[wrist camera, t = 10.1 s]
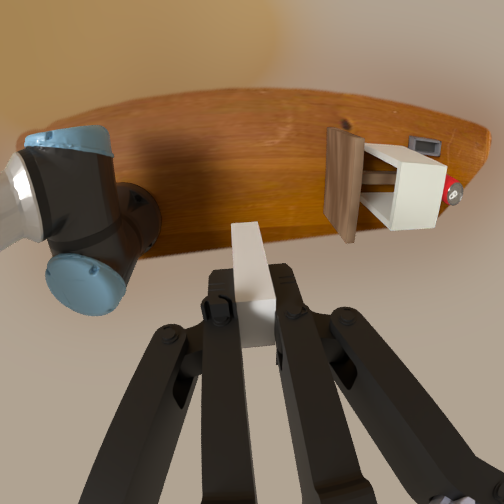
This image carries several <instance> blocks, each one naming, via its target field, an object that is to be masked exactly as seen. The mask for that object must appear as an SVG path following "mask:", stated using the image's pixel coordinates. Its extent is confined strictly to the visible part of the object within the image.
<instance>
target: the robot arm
mask: <svg viewBox="0 0 504 504" xmlns="http://www.w3.org/2000/svg"><path fill="white" fill-rule="evenodd" d="M24 146H25V147H26V148H25V149H23V150H20V151H18V152H15V153H13V155H12V156H11V158H10V160H9V162H8V164H7V166H6V168H5V169H4V170H3V171H2V172H0V252H1V251H2V250H4V249H6V248H7V247H9V246H11V245H12V244H14V243H16V242H17V241H19V240H21V239H23V238H27V239H29V240H32V241H34V242H37V243H40V242H42V241H44V240H46V239H47V241H48V244H49V247H50V250H51V253H52V258H51V259H50V260H49V262H48V264H47V269H46V273H45V277H46V282H47V285H48V287H49V289H50V291H51V292H52V294H53V295H54V296H55V297H56V299H57V300H59V301H60V302H61V303H62V304H63V305H65V306H66V307H68V308H70V309H72V310H73V311H75V312H77V313H80V314H83V315H88V316H102V315H106V314H108V313H110V312H112V311H113V310H114V309H115V308H116V307H117V306H118V304H119V302H120V300H121V299H122V297H123V296H124V295H125V292H126V287H127V284H128V282H129V279H130V277H131V274H132V272H133V270H134V267H135V265H136V262H137V260H138V258H139V257H140V256H141V255H143V254H144V253H145V252H147V251H148V250H149V249H150V248H151V247H152V246H153V245H154V243H155V242H156V240H157V237H158V235H159V233H160V229H161V214H160V210H159V207H158V205H157V203H156V202H155V200H154V199H153V197H152V196H151V195H150V194H149V193H148V192H147V191H145V190H144V189H143V188H141V187H139V186H137V185H134V184H131V183H125V182H121V183H116V180H115V173H114V165H113V158H114V154H113V153H112V150H111V143H110V136H109V133H108V131H107V129H106V128H104V127H103V126H100V125H90V126H80V127H72V128H65V129H59V130H53V131H47V132H41V133H36V134H32V135H29V136H27V137H26V139H25V143H24ZM231 234H232V253H233V268H232V269H220V270H213V271H212V273H211V274H210V276H209V285H208V296H207V297H205V298H204V299H203V301H202V303H201V310H202V314H203V319H204V320H203V321H202V322H201V323H199V324H198V325H196V326H193V327H190V328H187V329H183V327H181V326H180V325H177V324H168V325H164V326H162V327H160V328H159V329H157V331H156V332H155V333H154V335H153V337H152V339H151V341H150V343H149V345H148V347H147V349H146V351H145V353H144V355H143V357H142V359H141V361H140V363H139V365H138V367H137V369H136V371H135V373H134V375H133V377H132V379H131V381H130V383H129V386H128V387H127V390H126V392H125V394H124V396H123V398H122V400H121V403H120V405H119V407H118V409H117V411H116V413H115V416H114V418H113V420H112V422H111V424H110V427H109V429H108V431H107V434H106V436H105V438H104V441H103V443H102V445H101V447H100V450H99V452H98V455H97V457H96V460H95V462H94V464H93V467H92V469H91V472H90V474H89V477H88V479H87V482H86V484H85V487H84V489H83V492H82V495H81V497H80V500H79V503H78V504H158V502H159V499H160V495H161V492H162V489H163V486H164V482H165V479H166V476H167V473H168V470H169V467H170V463H171V460H172V457H173V454H174V451H175V447H176V444H177V441H178V438H179V435H180V432H181V429H182V425H183V423H184V419H185V416H186V413H187V410H188V407H189V404H190V401H191V398H192V395H193V391H194V389H195V385H196V383H197V380H198V375H201V374H202V399H201V405H202V406H201V444H202V445H201V448H202V449H201V450H202V451H201V452H202V491H203V497H202V502H201V504H258V503H257V495H256V487H255V478H254V469H253V460H252V451H251V441H250V432H249V422H248V412H247V402H246V392H245V380H244V370H243V358H242V349H241V348H249V347H260V346H270V345H275V341H276V347H277V352H276V353H277V354H276V365H278V366H279V372H280V377H281V382H282V388H283V393H284V399H285V404H286V410H287V415H288V421H289V426H290V432H291V437H292V443H293V448H294V454H295V459H296V465H297V470H298V476H299V482H300V487H301V493H302V504H377V501H376V497H375V494H374V491H373V488H372V485H371V484H370V482H369V481H368V480H367V479H365V478H364V477H363V475H362V473H361V470H360V466H359V463H358V459H357V455H356V452H355V448H354V445H353V441H352V438H351V434H350V431H349V428H348V424H347V421H346V418H345V414H344V411H343V408H342V405H341V401H340V398H339V395H338V392H337V388H336V385H335V382H336V384H337V385H338V387H339V388H340V390H341V391H342V393H343V394H344V396H345V397H346V399H347V401H348V402H349V404H350V405H351V407H352V408H353V410H354V411H355V413H356V414H357V416H358V418H359V419H360V421H361V422H362V424H363V425H364V427H365V428H366V430H367V431H368V433H369V435H370V436H371V438H372V439H373V441H374V442H375V444H376V445H377V447H378V448H379V450H380V451H381V453H382V455H383V456H384V458H385V459H386V461H387V462H388V464H389V465H390V467H391V468H392V470H393V471H394V473H395V475H396V476H397V477H398V479H399V481H400V482H401V484H402V485H403V487H404V488H405V490H406V491H407V493H408V494H409V495H410V496H411V498H412V499H414V501H415V502H416V503H417V504H504V473H503V472H502V471H500V470H498V469H496V468H495V467H493V466H491V465H489V464H488V463H486V462H484V461H483V460H481V459H479V458H478V457H476V456H475V454H474V453H473V452H472V450H471V449H470V448H469V446H468V445H467V444H466V442H465V441H464V439H463V438H462V437H461V435H460V434H459V433H458V431H457V430H456V429H455V427H454V426H453V425H452V423H451V422H450V421H449V420H448V418H447V417H446V416H445V414H444V413H443V412H442V411H441V409H440V408H439V407H438V405H437V404H436V403H435V402H434V400H433V399H432V398H431V397H430V395H429V394H428V393H427V392H426V390H425V389H424V388H423V387H422V385H421V384H420V383H419V382H418V380H417V379H416V378H415V377H414V375H413V374H412V373H411V372H410V371H409V369H408V368H407V367H406V366H405V365H404V363H403V362H402V361H401V360H400V359H399V357H398V356H397V355H396V354H395V353H394V351H393V350H392V349H391V348H390V347H389V346H388V344H387V343H386V342H385V341H384V340H383V339H382V337H381V336H380V335H379V334H378V333H377V332H376V330H375V329H374V328H373V327H372V326H371V325H370V323H369V322H368V321H367V320H366V319H365V318H364V317H363V316H362V314H361V313H360V312H358V311H357V310H356V309H353V308H350V307H340V308H337V309H336V310H334V311H333V312H332V314H331V315H326V314H319V313H315V312H312V311H311V310H310V309H309V307H308V306H306V305H305V304H304V303H303V300H302V297H301V294H300V291H299V288H298V285H297V283H296V279H295V277H294V274H293V271H292V269H291V268H290V267H289V266H288V265H287V264H286V263H282V264H271V265H268V263H267V259H266V255H265V251H264V247H263V242H262V238H261V234H260V230H259V226H258V222H246V223H233V224H231ZM334 381H335V382H334Z"/></svg>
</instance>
